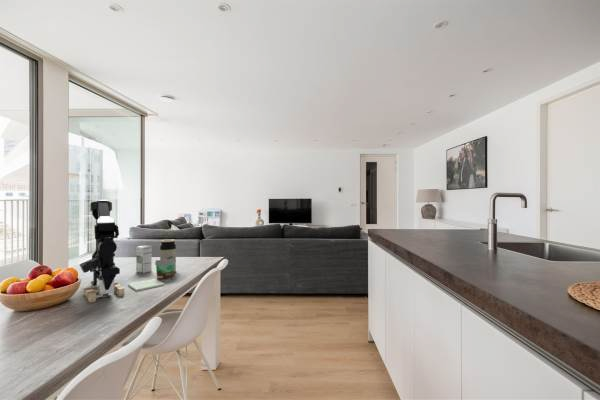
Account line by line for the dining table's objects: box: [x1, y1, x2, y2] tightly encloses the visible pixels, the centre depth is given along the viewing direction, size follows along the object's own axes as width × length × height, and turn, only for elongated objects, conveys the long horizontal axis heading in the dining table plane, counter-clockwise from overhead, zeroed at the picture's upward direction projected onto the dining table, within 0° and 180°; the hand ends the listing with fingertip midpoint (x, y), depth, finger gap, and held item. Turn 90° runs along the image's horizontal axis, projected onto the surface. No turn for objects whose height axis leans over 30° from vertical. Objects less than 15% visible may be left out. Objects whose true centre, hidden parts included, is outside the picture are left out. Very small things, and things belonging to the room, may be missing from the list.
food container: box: [154, 256, 177, 280], centre depth 146 cm, size 12×6×10 cm, turn 168°
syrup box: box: [135, 244, 153, 274], centre depth 158 cm, size 6×6×14 cm
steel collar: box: [96, 277, 115, 296], centre depth 117 cm, size 5×5×6 cm
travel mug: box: [159, 238, 177, 273], centre depth 157 cm, size 8×8×18 cm
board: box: [127, 278, 165, 292], centre depth 132 cm, size 12×12×1 cm
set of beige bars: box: [83, 281, 125, 303], centre depth 119 cm, size 13×12×4 cm
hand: (105, 288), depth 117 cm, fingers closed on steel collar, 5 cm apart
